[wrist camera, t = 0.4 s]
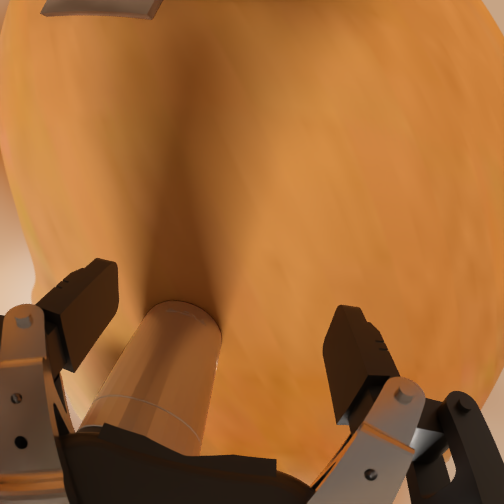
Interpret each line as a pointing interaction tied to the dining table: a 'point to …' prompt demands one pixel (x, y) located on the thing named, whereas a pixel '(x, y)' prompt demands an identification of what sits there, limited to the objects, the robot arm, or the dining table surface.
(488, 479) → the robot arm
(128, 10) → the walnut stand
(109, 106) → the dining table surface
